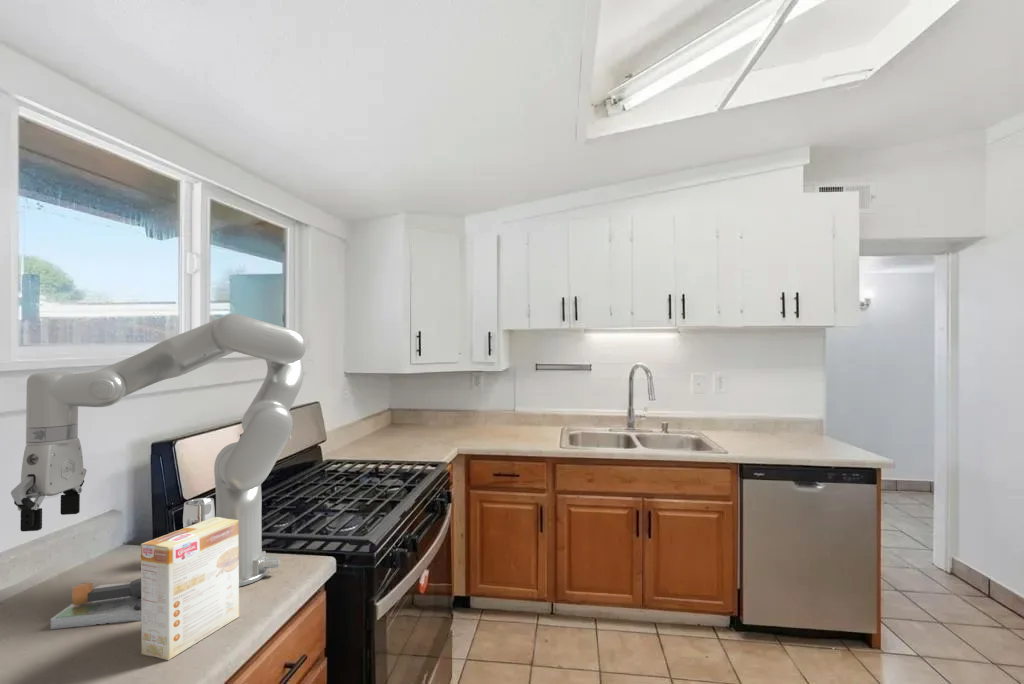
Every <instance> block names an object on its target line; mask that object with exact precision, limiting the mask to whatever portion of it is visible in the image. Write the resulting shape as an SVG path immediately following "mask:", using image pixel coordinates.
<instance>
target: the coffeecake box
mask: <svg viewBox="0 0 1024 684" xmlns="http://www.w3.org/2000/svg"><path fill="white" fill-rule="evenodd" d="M238 521H239V520H234V519H226V518H221V517H216V516H215V517H213V518H210V519H207V520H204V521H202V522H199V523H197V524H194V525H191V526H189V527H186V528H181V529H179V530H175V531H172V532H169V533H168V534H165V535H162V536H159V537H156V538H154V539H151V540H148V541H145V542H143V543H141V544H140V550H141V551H140V564H141V565H140V568H141V569H140V571H141V572H140V577H141V620H140V622H141V631H140V632H141V639H140V640H141V655H144V656H148V657H155V658H158V659H162V660H164V661H171V660H172V658H175V657H176V656H178V655H180V654H181V653H182V652H184V651H186V650H188V649H189V648H190V647H193V646H194V645H196V644H197V643H199V642H200V641H202V640H204V639H206V638H207V637H208V636H210V635H212V634H214V633H215V632H217V631H218V630H220V629H222V628H223V627H225V626H226V625H228V624H230V623H231V622H233V621H235V620H236V619H238V618H240V586H239V549H238Z"/></svg>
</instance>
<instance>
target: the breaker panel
mask: <svg viewBox="0 0 1024 684" xmlns="http://www.w3.org/2000/svg"><path fill="white" fill-rule="evenodd" d="M130 583H131V582H120V583H119V582H118V583H110V584H109V583H108V584H100V585H96V586H95V587H93V589H96V588H103V587H111V586H118V585H126V584H130ZM140 601H141V596H139V597H130V596H128V597H121V598H114V599H107V600H100V601H93V602H87V603H84V604H80V605H73V604H72V603H71V604H70V605H68V606H67V607H65V608H64V609H63V610H61V611H59V612H58V613H57V614H56V615H54V616H53V617H51V618H50V630H58V629H59V630H60V629H68V628H78V627H88V626H89V627H90V626H97V625H96V624H100V625H107V624H106V623H110V624H117V623H119V624H120V623H127V622H137V621H140V622H141V609H140V610H138V611H136V610H134V606H135V605H136V604H137V603H138V602H140Z"/></svg>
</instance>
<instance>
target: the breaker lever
mask: <svg viewBox="0 0 1024 684" xmlns="http://www.w3.org/2000/svg"><path fill="white" fill-rule="evenodd" d="M129 583H130V584H126V585H118V586H111V587H103V588H96V589H94V583H93V582H84V583H80V584H77V585H75V586H73V587H72V590H71V592H72V593H71V604H73V605H80V604H84V603H87V602H93V601H100V600H107V599H114V598H121V597H128V596H130V597H139V596H141V578H137V579H134V580H132V581H130V582H129Z"/></svg>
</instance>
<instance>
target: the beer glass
mask: <svg viewBox="0 0 1024 684" xmlns="http://www.w3.org/2000/svg"><path fill="white" fill-rule="evenodd" d="M213 517H216V507H215V499H214V498H213V497H200V498H194V499H189V500H187V501H185V502H184V503H183V514H182V524H183V526H182V527H183V528H186V527H189V526H191V525H194V524H197V523H199V522H202V521H204V520H207V519H210V518H213ZM183 528H182V529H183Z"/></svg>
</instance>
